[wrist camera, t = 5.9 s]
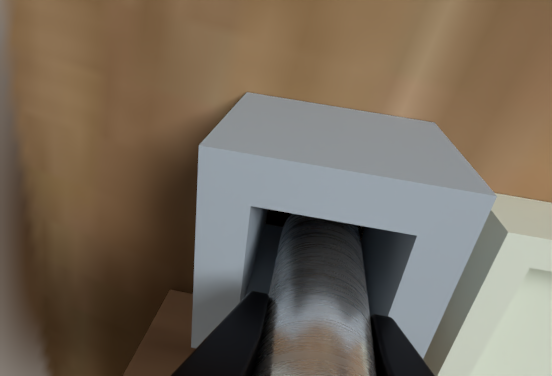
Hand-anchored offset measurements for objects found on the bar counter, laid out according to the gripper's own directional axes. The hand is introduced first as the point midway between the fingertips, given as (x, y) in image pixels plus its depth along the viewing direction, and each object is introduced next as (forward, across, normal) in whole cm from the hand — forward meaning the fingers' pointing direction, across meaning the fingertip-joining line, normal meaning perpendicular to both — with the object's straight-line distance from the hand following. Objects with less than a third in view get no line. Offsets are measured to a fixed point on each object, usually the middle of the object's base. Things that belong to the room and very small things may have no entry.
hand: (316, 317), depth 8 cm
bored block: (+6, 0, 0) cm, 6 cm away
